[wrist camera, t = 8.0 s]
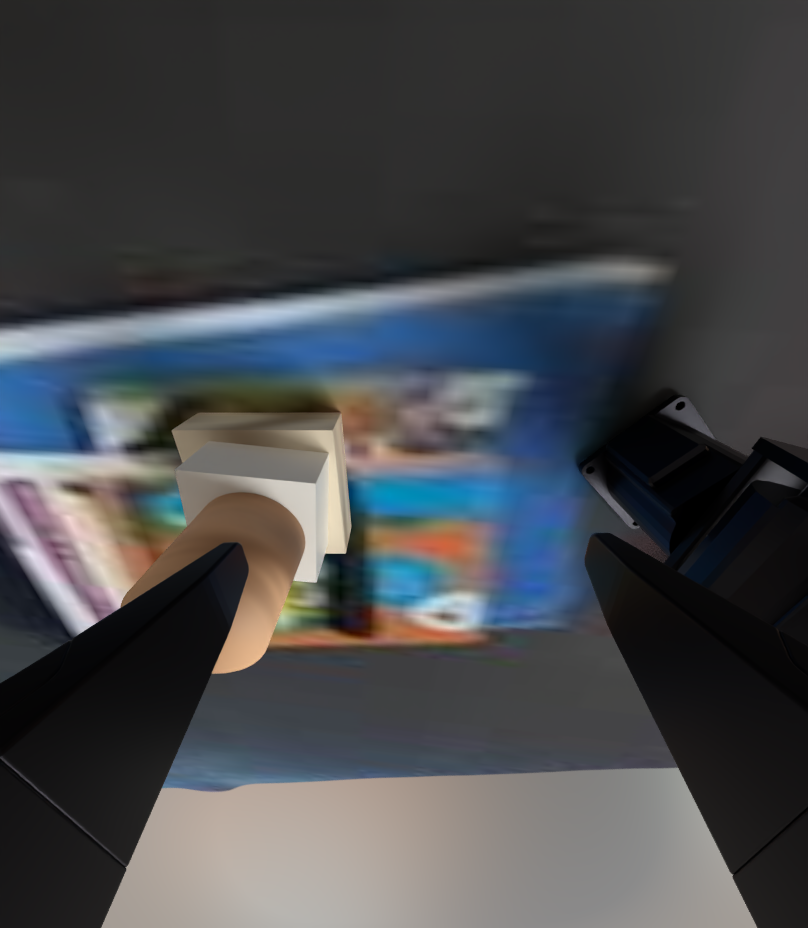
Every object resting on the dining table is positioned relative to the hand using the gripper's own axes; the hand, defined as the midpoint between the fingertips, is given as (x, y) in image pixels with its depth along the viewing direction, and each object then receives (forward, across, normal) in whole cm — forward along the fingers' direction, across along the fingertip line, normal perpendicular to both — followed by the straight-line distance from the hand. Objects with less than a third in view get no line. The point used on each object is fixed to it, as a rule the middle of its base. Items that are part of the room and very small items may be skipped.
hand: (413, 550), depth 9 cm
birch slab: (+12, +8, +4) cm, 15 cm away
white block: (+9, +8, +4) cm, 13 cm away
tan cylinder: (+6, +8, +4) cm, 11 cm away
